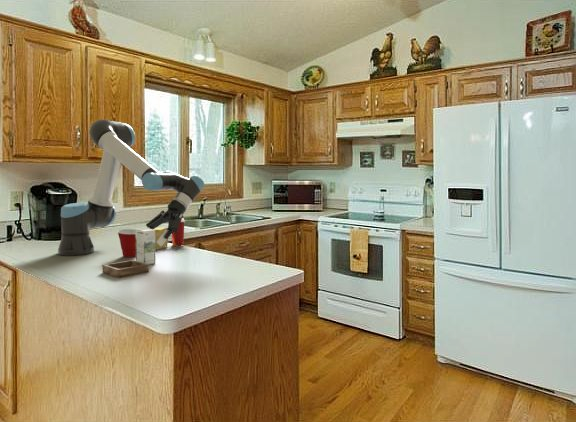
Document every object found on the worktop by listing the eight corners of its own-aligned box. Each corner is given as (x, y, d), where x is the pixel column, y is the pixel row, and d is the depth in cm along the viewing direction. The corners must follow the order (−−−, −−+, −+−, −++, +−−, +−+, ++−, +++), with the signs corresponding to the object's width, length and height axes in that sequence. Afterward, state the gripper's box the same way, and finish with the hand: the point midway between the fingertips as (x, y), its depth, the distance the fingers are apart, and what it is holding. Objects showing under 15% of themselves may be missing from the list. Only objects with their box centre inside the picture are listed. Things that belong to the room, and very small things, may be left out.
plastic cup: (129, 259, 175) (128, 232, 174) (112, 257, 179) (111, 230, 178) (148, 255, 184) (147, 229, 183) (131, 253, 189) (130, 228, 188)
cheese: (158, 249, 199) (158, 229, 199) (139, 248, 202) (138, 229, 201) (168, 246, 210) (168, 227, 209) (150, 245, 212) (149, 226, 211)
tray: (102, 272, 150) (102, 264, 150) (132, 267, 159) (132, 260, 159) (118, 278, 143) (118, 269, 142) (148, 272, 152) (148, 264, 152)
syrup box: (147, 262, 170) (146, 228, 169) (156, 263, 167) (155, 229, 166) (135, 264, 165) (134, 229, 164) (144, 266, 162) (143, 230, 161)
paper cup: (188, 244, 216) (187, 218, 215) (179, 246, 209) (179, 219, 208) (175, 243, 219) (175, 217, 218) (167, 245, 212) (167, 219, 211)
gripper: (202, 212, 170) (172, 251, 160) (168, 208, 186) (139, 244, 176) (191, 200, 166) (160, 240, 156) (158, 198, 182) (128, 234, 172)
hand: (149, 242), depth 166 cm, fingers open, 13 cm apart
